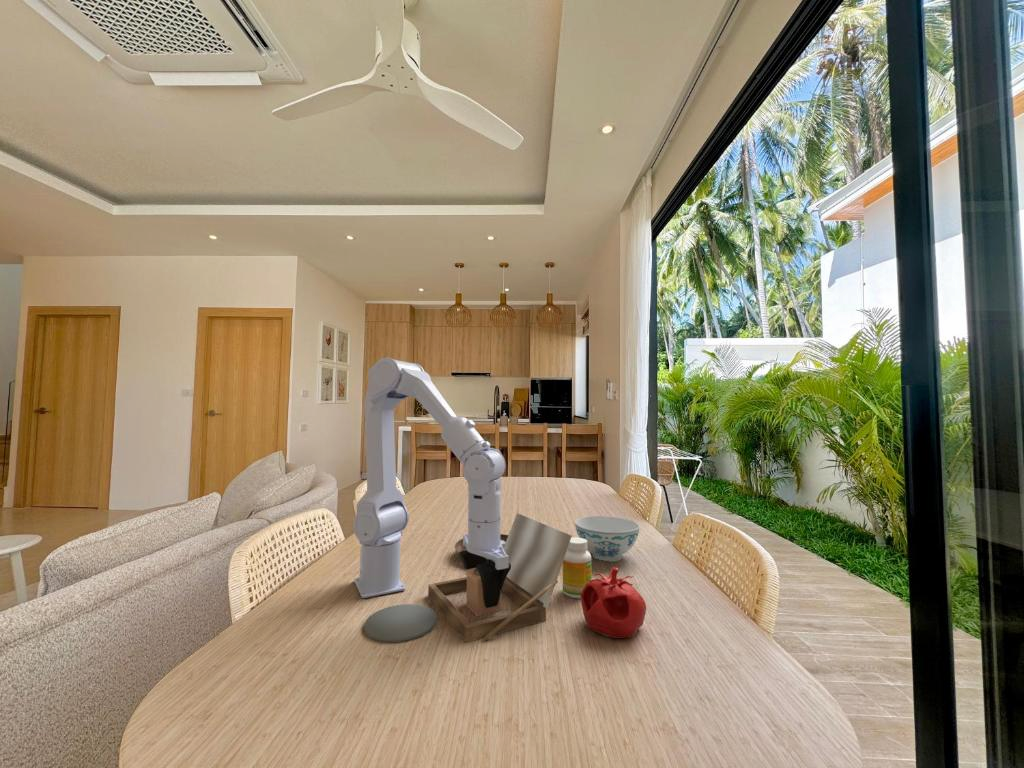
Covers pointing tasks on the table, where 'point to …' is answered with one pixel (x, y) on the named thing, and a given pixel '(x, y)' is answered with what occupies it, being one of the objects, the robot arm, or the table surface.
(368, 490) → the robot arm
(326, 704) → the table surface
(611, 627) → the hollow red tomato
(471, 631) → the cold frame
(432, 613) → the mat
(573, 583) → the supplement bottle
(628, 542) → the chinaware
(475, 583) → the orange block with dome
